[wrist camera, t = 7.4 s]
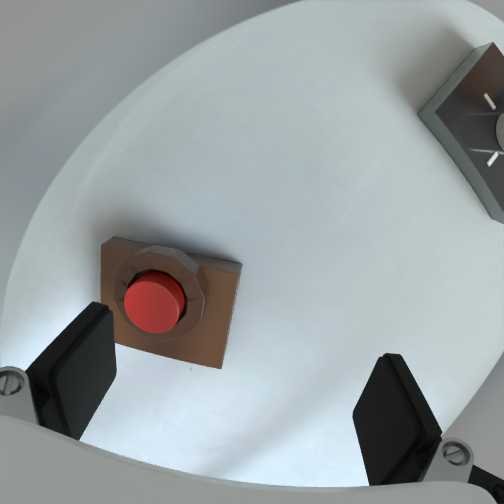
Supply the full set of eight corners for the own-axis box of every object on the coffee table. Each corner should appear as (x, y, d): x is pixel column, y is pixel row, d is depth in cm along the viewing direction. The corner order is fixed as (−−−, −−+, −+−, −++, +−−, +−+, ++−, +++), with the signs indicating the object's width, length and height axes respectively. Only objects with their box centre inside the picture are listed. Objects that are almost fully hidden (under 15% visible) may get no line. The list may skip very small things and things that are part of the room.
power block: (111, 327, 28) (93, 350, 24) (113, 225, 25) (90, 239, 21) (224, 354, 28) (218, 383, 24) (244, 252, 25) (240, 271, 21)
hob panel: (416, 114, 21) (435, 111, 18) (474, 48, 18) (494, 41, 15) (492, 219, 23) (512, 228, 20) (540, 150, 20) (560, 153, 17)
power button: (132, 314, 23) (123, 325, 21) (133, 266, 22) (124, 275, 20) (181, 326, 23) (175, 339, 22) (187, 278, 22) (181, 288, 20)
